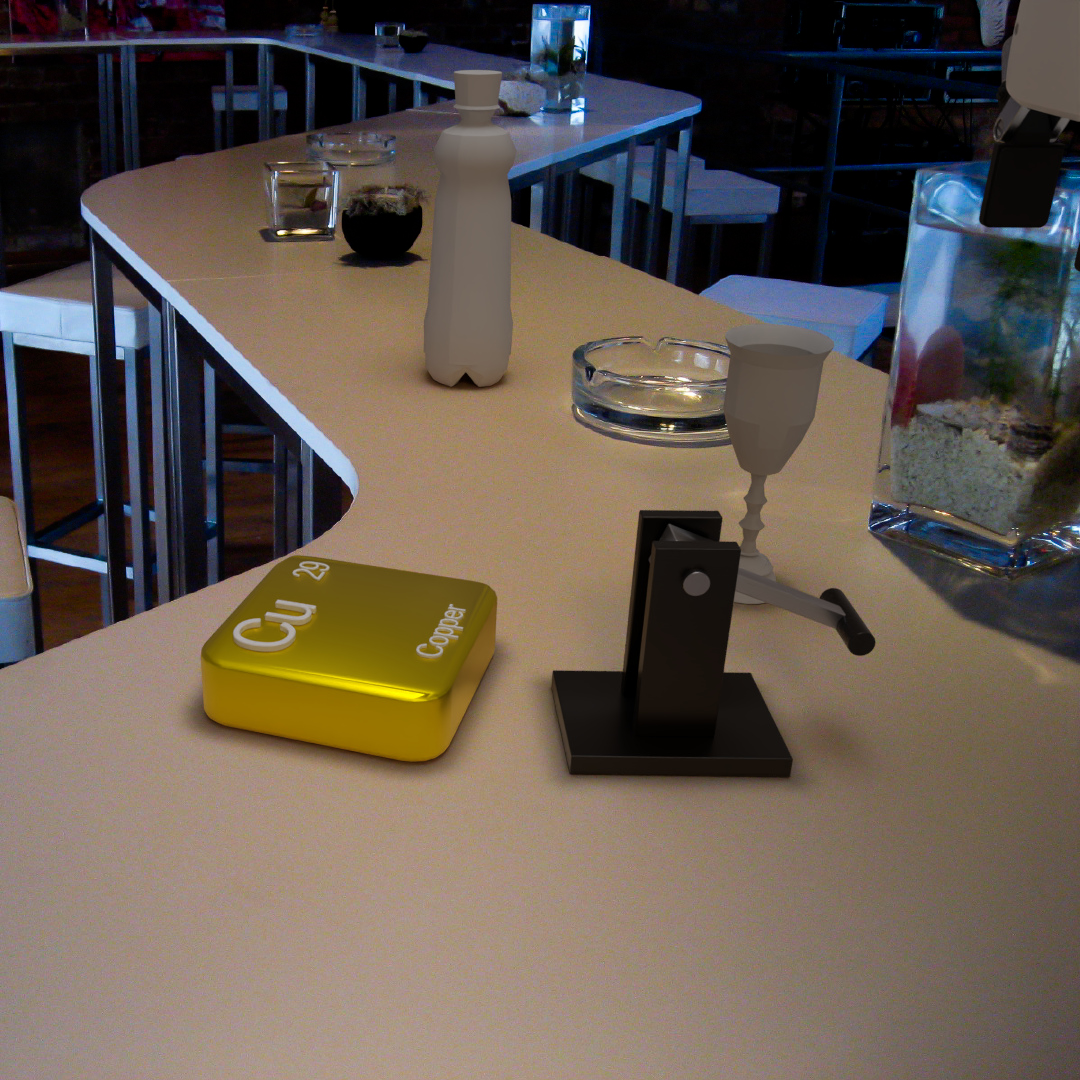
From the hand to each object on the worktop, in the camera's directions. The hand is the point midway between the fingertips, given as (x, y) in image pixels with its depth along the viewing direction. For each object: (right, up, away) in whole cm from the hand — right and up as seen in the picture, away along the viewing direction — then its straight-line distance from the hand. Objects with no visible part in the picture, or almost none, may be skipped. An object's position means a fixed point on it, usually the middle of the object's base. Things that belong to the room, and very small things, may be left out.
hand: (1058, 247), depth 59 cm
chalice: (-6, -17, +30) cm, 35 cm away
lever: (-11, -17, +11) cm, 23 cm away
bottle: (-21, +3, +73) cm, 76 cm away
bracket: (-15, -25, +14) cm, 32 cm away
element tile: (-33, -22, +19) cm, 44 cm away
